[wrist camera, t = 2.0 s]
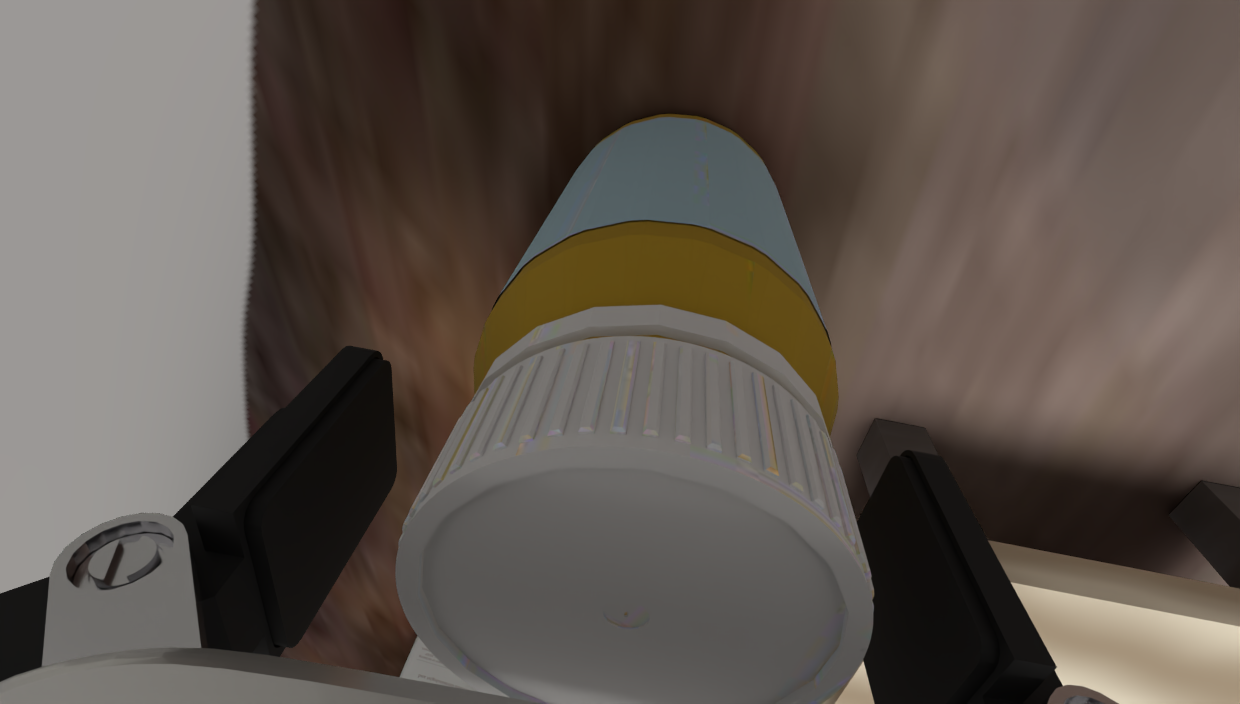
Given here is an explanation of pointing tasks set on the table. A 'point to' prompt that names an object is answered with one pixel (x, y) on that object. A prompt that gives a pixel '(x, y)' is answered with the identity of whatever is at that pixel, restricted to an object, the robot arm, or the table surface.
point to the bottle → (647, 453)
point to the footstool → (1114, 602)
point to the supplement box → (430, 668)
